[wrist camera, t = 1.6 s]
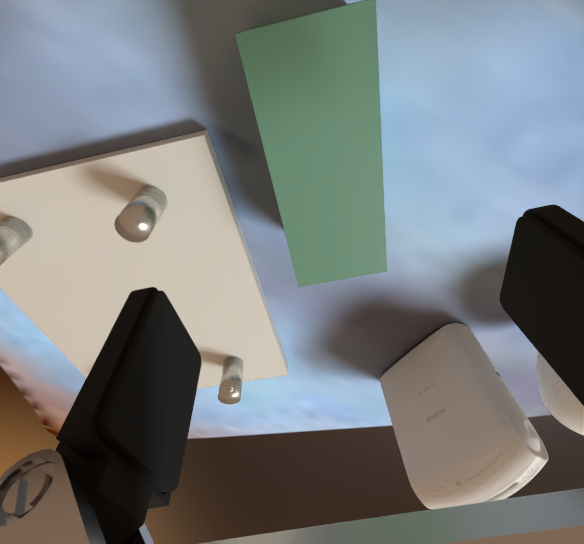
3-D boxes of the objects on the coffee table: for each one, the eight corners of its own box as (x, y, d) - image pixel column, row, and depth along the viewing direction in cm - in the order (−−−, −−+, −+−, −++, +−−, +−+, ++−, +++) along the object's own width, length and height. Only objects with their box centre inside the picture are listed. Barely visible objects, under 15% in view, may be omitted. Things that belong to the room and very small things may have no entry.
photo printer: (450, 314, 29) (538, 465, 19) (481, 331, 31) (579, 480, 21) (371, 376, 34) (409, 521, 24) (402, 389, 36) (449, 530, 26)
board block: (346, 4, 16) (375, -3, 11) (364, 219, 23) (386, 271, 19) (247, 29, 17) (234, 34, 12) (294, 233, 24) (298, 287, 19)
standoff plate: (207, 129, 19) (190, 156, 16) (288, 364, 32) (289, 409, 29) (-67, 193, 21) (-142, 231, 17) (115, 391, 34) (95, 437, 30)
